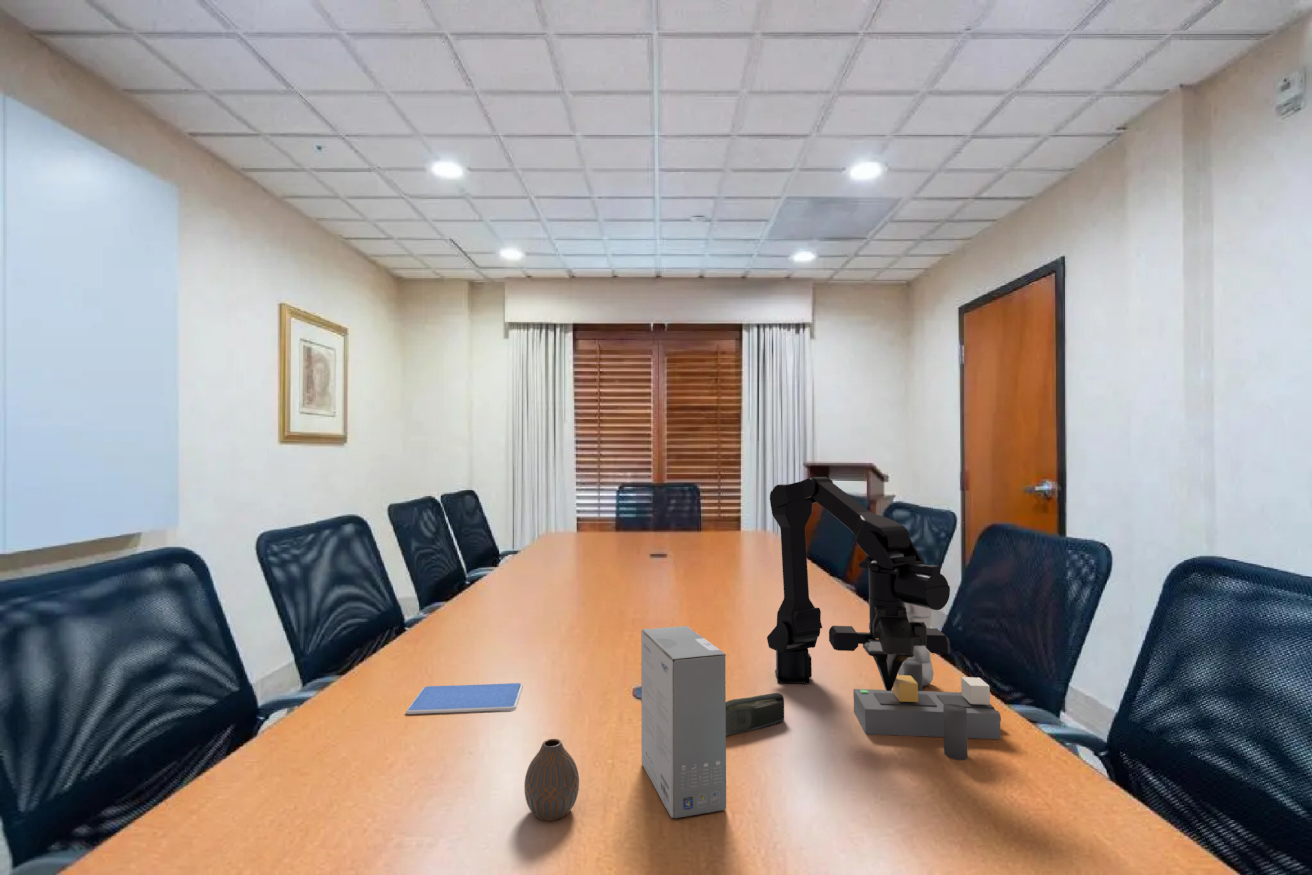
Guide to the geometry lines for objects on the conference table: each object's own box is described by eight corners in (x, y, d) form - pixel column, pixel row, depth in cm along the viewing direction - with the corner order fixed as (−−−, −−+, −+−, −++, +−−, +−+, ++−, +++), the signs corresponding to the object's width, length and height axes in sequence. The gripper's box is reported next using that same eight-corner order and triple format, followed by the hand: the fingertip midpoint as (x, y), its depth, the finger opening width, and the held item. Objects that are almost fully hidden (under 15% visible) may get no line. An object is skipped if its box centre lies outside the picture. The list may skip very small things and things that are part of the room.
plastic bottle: (937, 691, 120) (935, 586, 121) (900, 688, 121) (898, 585, 122) (929, 679, 126) (927, 580, 127) (894, 677, 128) (892, 579, 128)
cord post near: (948, 759, 93) (947, 711, 93) (941, 749, 96) (940, 703, 96) (971, 760, 93) (970, 712, 93) (962, 750, 96) (961, 704, 96)
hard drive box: (728, 811, 79) (727, 654, 80) (671, 822, 77) (671, 660, 78) (688, 756, 94) (687, 623, 95) (639, 763, 92) (639, 627, 93)
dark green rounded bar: (776, 688, 109) (706, 703, 102) (788, 694, 107) (717, 710, 99) (776, 717, 109) (706, 734, 102) (787, 723, 107) (716, 741, 99)
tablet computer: (523, 688, 124) (523, 681, 124) (515, 713, 112) (515, 706, 112) (423, 692, 122) (423, 685, 122) (404, 718, 110) (404, 711, 110)
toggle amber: (899, 701, 104) (899, 683, 104) (892, 692, 108) (892, 674, 108) (918, 701, 103) (917, 683, 103) (910, 692, 107) (910, 675, 107)
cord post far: (907, 704, 114) (906, 665, 114) (902, 697, 117) (901, 659, 117) (925, 704, 114) (924, 666, 114) (919, 698, 117) (919, 660, 117)
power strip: (865, 733, 102) (865, 707, 102) (853, 711, 111) (853, 687, 111) (1011, 739, 99) (1010, 713, 99) (987, 716, 108) (986, 692, 108)
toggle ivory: (970, 703, 102) (970, 685, 103) (961, 694, 106) (961, 676, 107) (989, 704, 102) (989, 686, 102) (979, 695, 106) (979, 677, 106)
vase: (527, 798, 83) (528, 731, 83) (580, 796, 83) (580, 729, 84) (520, 829, 76) (521, 756, 76) (577, 826, 76) (577, 754, 77)
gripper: (839, 607, 99) (840, 706, 99) (961, 610, 97) (963, 711, 97) (827, 592, 110) (829, 681, 110) (937, 594, 108) (939, 685, 108)
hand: (888, 690), depth 106 cm, fingers closed
